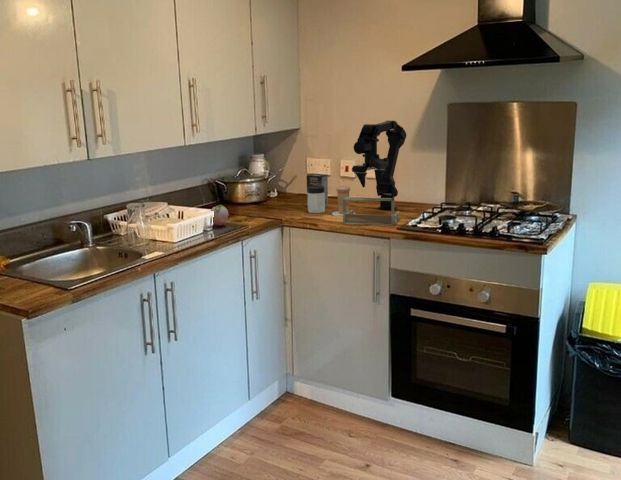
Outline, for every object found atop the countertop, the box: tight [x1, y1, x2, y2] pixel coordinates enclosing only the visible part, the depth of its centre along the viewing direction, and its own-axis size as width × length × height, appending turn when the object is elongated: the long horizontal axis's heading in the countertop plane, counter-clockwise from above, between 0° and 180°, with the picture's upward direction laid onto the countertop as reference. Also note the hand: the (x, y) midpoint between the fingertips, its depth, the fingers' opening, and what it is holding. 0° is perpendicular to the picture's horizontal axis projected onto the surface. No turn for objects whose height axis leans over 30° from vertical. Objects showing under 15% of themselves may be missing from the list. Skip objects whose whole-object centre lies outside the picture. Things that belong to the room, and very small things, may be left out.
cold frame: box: [342, 196, 401, 227], centre depth 277 cm, size 16×22×12 cm
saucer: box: [331, 210, 356, 217], centre depth 297 cm, size 11×11×1 cm
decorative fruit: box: [210, 204, 229, 227], centre depth 278 cm, size 9×8×10 cm
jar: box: [306, 186, 326, 214], centre depth 305 cm, size 9×8×12 cm
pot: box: [336, 186, 351, 214], centre depth 296 cm, size 6×6×12 cm
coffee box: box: [306, 173, 329, 208], centre depth 318 cm, size 9×6×16 cm
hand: (370, 186), depth 294 cm, fingers open, 9 cm apart
